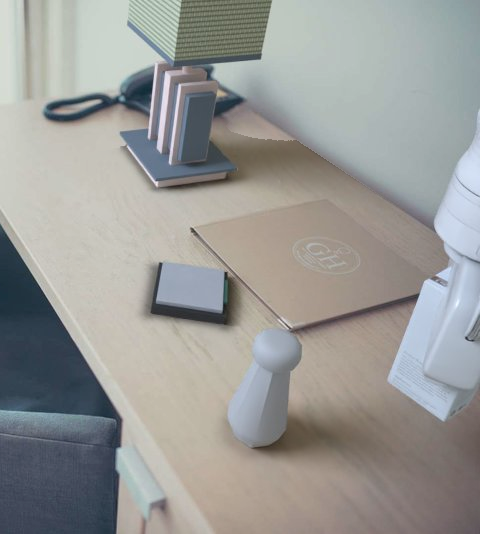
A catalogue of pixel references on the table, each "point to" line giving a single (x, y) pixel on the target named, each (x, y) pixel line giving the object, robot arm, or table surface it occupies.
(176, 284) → the scale
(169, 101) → the desk lamp
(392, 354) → the table surface
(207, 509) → the table surface
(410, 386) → the cosmetic box
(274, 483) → the table surface
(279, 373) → the salt shaker
